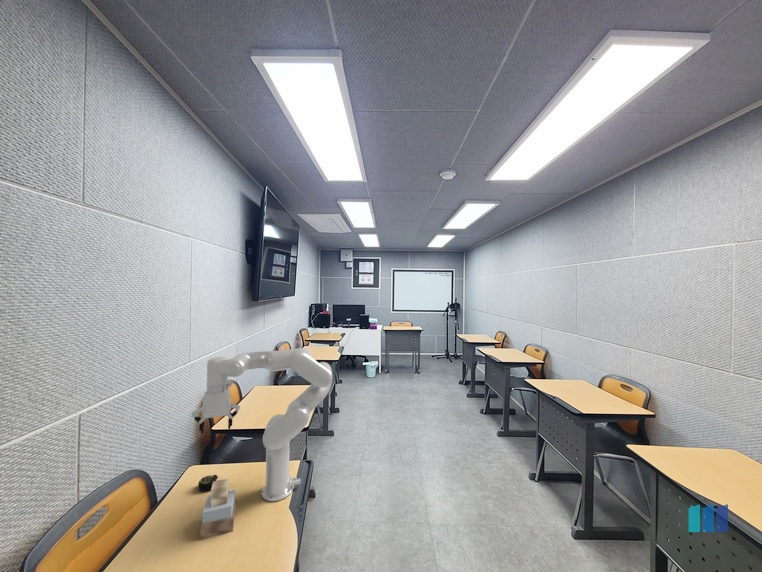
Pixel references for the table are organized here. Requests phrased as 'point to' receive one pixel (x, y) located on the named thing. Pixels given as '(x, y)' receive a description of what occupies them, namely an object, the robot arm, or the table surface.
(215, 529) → the bottom block
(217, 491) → the beech block
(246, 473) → the table surface
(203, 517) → the top block
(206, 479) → the tape measure
